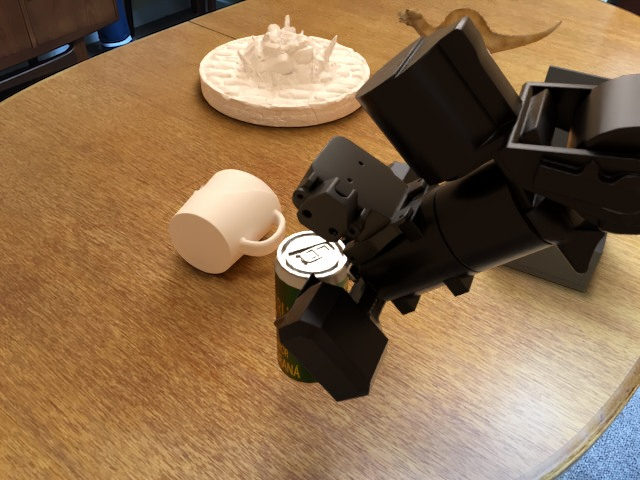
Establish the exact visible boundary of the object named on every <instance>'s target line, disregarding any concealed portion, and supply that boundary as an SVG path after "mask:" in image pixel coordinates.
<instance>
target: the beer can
mask: <svg viewBox="0 0 640 480" xmlns="http://www.w3.org/2000/svg"><path fill="white" fill-rule="evenodd" d="M344 248H345V245H344V244H343V243H342V242H341V240H339V241H338V242H335V243H330V242H327V241H325V240H324V239H322V238H321V237H319V236H318V235H316V234H315V233H313V232H312V231H311V230H306V231H299V232H297V233H293V234H291V235H290V236H288V237H286V238H284V240H283V241H282V243H281V244H280V245H279V247H278V248H277V251H276V256H275V259H274V262H273V270H274V272H273V273H274V275H273V276H274V300H275V301H274V302H275V320H276V319H277V318H278V317H280V316H281V315H282V314H284V313H285V312H286V311H288V310H289V309H291V308H292V306H293V305H294V303H295V299H296V297H297V295H298V294H299V292H300V290H301V289H302V287H303V286H304V284H305V283H306V281H307V279H308V278H309V276H310V275H311V273H313V274H314V275H315V276H316V277H317V278H318V279H319V280H320V281H321V282H322V281H323V282H327V283H330V284H333V285H336V286H339V287H343V288H344V289H345V290H346V291H347V292H348V293H349V283H350V280H349V277H348V276H347V274H346V270H347V268H348V267H349V265H350V263H349V260H348V258H347V257H346V256H345V255H344V254H343V253H342V251H343V249H344ZM275 334H276V337H275V339H276V359H277V364H278V367H279V368H280V371H281V373H283V375H285V376H286V377H287V378H288V379H289V380H290V381H291V382H293V383H296V384H298V385H299V386H300V385H302V386H308V387H311V386H319V385H320V384H319V383H318V382H317V381H316V379H315V378H314V377H313V376H312V375H311V374H310V373H309V372H308V371H307V370H306V369H305V368H304V367H303V366H302V365H301V364H300V363H299V362H298V360H297V359H296V358H295V357H294V356H293V355H292V354H291V353H290V352H289V351H288V350H287V349H286V348H285V347H284V346H283V345H282V344H281V343H280V337H279V330H278V329H277V328H276V327H275Z"/></svg>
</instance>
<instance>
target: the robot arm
mask: <svg viewBox="0 0 640 480" xmlns="http://www.w3.org/2000/svg"><path fill="white" fill-rule="evenodd" d="M491 56H492V54H491V55H490V54H489V52H488V50H487V48H486V45H485V42H484V39H483V37H482V35H481V34H480V32H479V30H478V29H477V28H476V26H475V25H474V23H473V22H472V20H471V19H470V18H469V17H466V16H463V17H462V18H460V19H459V20H458V21H456V22H455V23H453V24H452V25H451V26H449V27H448V28H442V29H439V30H437V31H436V32H434V33H432V34H431V35H429V36H427V37H426V38H424V39H423V37H422V36H419V37H418V38H416V39H415V40H414V41H411V43H410V44H408V45H407V46H406V47H404V48H403V49H402V50H400V51H399V52H398V53H397V54H396V55H394V56H393V57H392V58H391V59H390V60H388V61H387V62H386V63H385V64H383V66H382V67H380V68H379V69H378V70H377V71H376V72H375V73H374V74H373V75H371V76H370V77H369V80H367V81H366V83H365V84H364V85H363V86H362V87H361V88H360V89H359V90H358V91H357V93H356V95H355V98H356V100H357V101H358V102H359V103H360V105H361V106H360V107H361V108H362V109H363V110H364V111H365V112H366V113H367V115H368V116H369V117H370V119H371V120H372V121H373V123H374V124H375V125H376V127H377V128H378V129H379V130H380V132H381V133H382V134H383V135H384V137H385V138H386V140H388V141H389V143H390V144H391V146H392V147H393V148H394V149H395V151H396V152H397V154H398V155H399V156H400V157H401V158H402V159H403V161H404V162H401V161H397V160H395V161H393V162H390V163H389V164H388V165H387V164H386V163H384V162H382V161H381V160H380V159H378V158H377V157H375V156H374V155H372V154H371V153H370V152H368V151H367V150H365V149H364V148H362V147H361V146H359V145H358V144H356V143H355V142H353V141H352V140H351V139H349V138H347V137H345V136H341V135H335V136H333V137H331V138H330V139H329V141H328V142H327V143H326V144H325V145H324V147H323V148H322V149H321V150H320V152H319V153H318V154H317V156H316V157H315V158H314V159H313V160H312V162H311V164H310V165H309V167H308V169H307V170H306V172H305V174H304V175H303V177H302V179H301V181H300V182H299V184H298V185H297V187H296V188H295V190H294V191H293V193H292V194H291V195H292V196H291V202H292V204H293V206H294V207H295V208H296V209H297V212H296V214H295V215H296V218H297V221H298V223H299V224H300V225H302V226H303V227H304V228H306V229H308V231H312V232H313V233H315V234H316V235H318V236H319V237H321V238H322V239H324V240H325V241H327V242H330V243H335V242H338V241H339V240H341V242H342V243H343V244H344V245H345V248H344V249H343V251H342V253H343V254H344V255H345V256H346V257H347V258H348V260H349V263H350V265H349V267H348V268H347V270H346V274H347V276H348V277H349V281H351V282H352V283H353V285H352V286H351V288H350V290H349V291H348V292H347V291H346V290H345V289H344V288H343V287H339V286H336V285H333V284H330V283H327V282H323V281H322V282H321V281H320V280H319V279H318V278H317V277H316V276H315V275H314V274H313V273H311V275H310V276H309V278H308V279H307V281H306V283H305V284H304V286H303V287H302V289H301V290H300V292H299V294H298V295H297V297H296V299H295V303H294V305H293V306H292V308H291V309H289V310H288V311H286V312H285V313H284V314H282V315H281V316H280V317H278V318H277V319H276V318H275V320H274V322H273V326H274V327H275V329H276V328H277V329H278V330H279V337H280V343H281V344H282V345H283V346H284V347H285V348H286V349H287V350H288V351H289V352H290V353H291V354H292V355H293V356H294V357H295V358H296V359H297V360H298V362H299V363H300V364H301V365H302V366H303V367H304V368H305V369H306V370H307V371H308V372H309V373H310V374H311V375H312V376H313V377H314V378H315V379H316V381H317V382H318V383H319V385H320V386H321V387H322V388H323V389H324V391H326V392H327V393H328V395H330V397H331V398H332V399H333V400H334V401H335V402H336V403H339V402H340V403H341V402H348V401H351V400H356V399H359V398H363V397H367V396H369V395H370V393H371V391H372V388H373V386H374V384H375V381H376V379H377V377H378V374H379V372H380V370H381V367H382V365H383V363H384V360H385V358H386V355H387V353H388V348H389V347H388V346H389V341H390V339H389V338H388V337H387V336H386V335H385V333H384V332H383V327H382V324H381V321H380V316H381V315H382V313H383V310H384V309H385V306H386V304H387V303H388V302H391V304H393V306H394V307H395V308H396V309H397V311H398V312H399V313H400V314H401V315H402V316H406V315H407V314H411V313H413V312H416V310H417V307H418V304H419V302H420V300H421V297H422V295H423V294H426V293H429V292H432V291H434V290H437V289H440V288H442V287H443V288H444V287H446V288H447V289H448V290H449V292H451V294H452V295H453V296H454V297H455V298H456V297H459V296H461V295H464V294H468V293H470V290H471V287H472V284H473V280H474V278H475V275H478V274H480V273H483V272H486V271H488V270H492V269H494V268H496V267H499V266H502V265H503V264H505V263H507V262H510V261H513V260H515V259H518V258H521V257H523V256H526V255H529V254H531V253H534V252H537V251H540V250H542V249H545V248H548V247H550V246H553V245H555V246H556V247H557V248H558V249H559V251H560V252H561V254H562V255H563V256H564V258H565V259H566V260H567V262H568V263H569V264H570V266H571V267H572V269H573V270H574V271H575V272H576V273H578V274H584V273H586V272H587V271H588V270H589V265H590V262H591V259H592V256H593V253H594V251H595V249H596V247H597V245H598V244H599V242H600V241H601V240H602V238H603V237H604V236H605V235H606V233H607V234H611V235H616V236H617V235H618V236H640V73H632V74H623V75H620V76H617V77H614V78H610V79H611V80H608V81H605V82H603V83H602V84H600V85H581V84H564V83H546V82H544V81H526V82H524V83H523V84H522V85H521V87H520V88H521V89H520V91H519V93H517V90H515V88H514V86H513V85H512V84H511V83H510V81H509V80H508V78H507V77H506V75H505V74H504V73H503V71H502V70H501V68H500V67H499V65H498V64H497V62H496V61H495V60H494V58H493V56H492V57H491ZM555 127H556V128H558V129H561V130H563V131H566V132H568V133H569V138H568V144H567V148H562V147H552V146H551V145H552V141H553V136H554V132H555Z"/></svg>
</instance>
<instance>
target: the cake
mask: <svg viewBox="0 0 640 480" xmlns="http://www.w3.org/2000/svg"><path fill="white" fill-rule="evenodd" d="M290 25H291V19H290V14H286V15H285V18H284V24H283V27H282V28H281V27H280V26H279V25H278V24H276V23H270V24H269V25H268V26H267V31H266V32H265V34H261V35H253V34H251V36H246V37H241V38H237V39H234V40H230V41H228V42H225V43H224V44H221V45H218V46H216V47H215V48H214V49H212V50H211V51H209V52H208V53H207V54H206V55H205V56H204V57H203V58H202V60H201V62H200V63H199V68H198V74H199V77H200V88H201V93H202V95H203V98H204V99H205V100H206V102H207V103H208V104H209V105H210V106H211V107H212V108H213V109H215V110H217V111H218V112H220V113H222V114H223V115H224V116H228V117H230V118H232V119H236V120H238V121H242V122H245V123H249V124H254V125H259V126H267V127H277V128H280V127H282V128H295V127H299V128H300V127H309V126H316V125H321V124H325V123H330V122H333V121H337V120H339V119H342V118H344V117H346V116H349V115H350V114H352V113H354V112H355V111H357V110H358V109H359V108H360V107H362V106H361V105H360V103H359V102H358V101H357V100H356V98H355V95H356V93H357V91H358V90H359V89H360V88H361V87H362V86H363V85H364V84H365V83H366V81H367V80H369V79H370V78H371V70H370V66H369V65H368V62H367V60H366V58H364V57H363V55H361V54H360V53H359V52H355V51H354V49H353V48H351V47H347V46H344V45H342V44H340V43H339V42H337V40H338V35H337V34H336V35H334V37H333V38H332V39H331V40H330V39H326V38H323V37H318V36H315V35H313V36H312V35H309V36H307V35H305V34H304V30H301V32H300V33H297V32H296V31H297V29H296V28H295V27H294V26H290Z"/></svg>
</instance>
